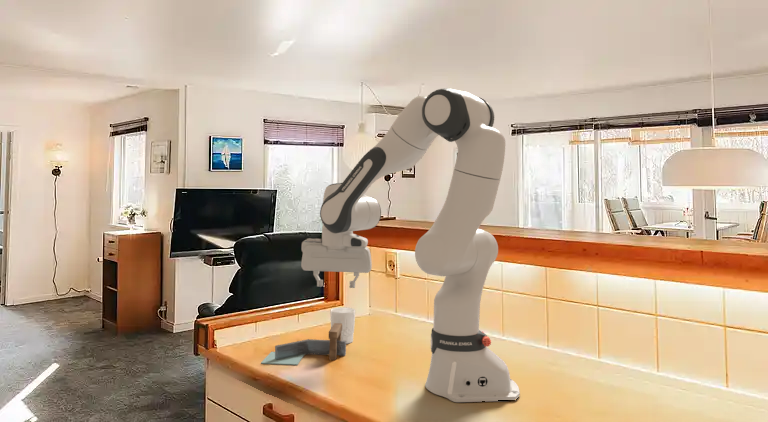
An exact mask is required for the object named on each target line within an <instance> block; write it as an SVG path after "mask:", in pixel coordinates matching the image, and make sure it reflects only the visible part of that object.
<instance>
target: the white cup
mask: <svg viewBox="0 0 768 422" xmlns="http://www.w3.org/2000/svg"><path fill="white" fill-rule="evenodd" d="M355 319H356V309H355V308H352V307H345V306H344V307H341V306H339V307H334V308H331V309H330V328H331V327H332V326H333V324H334V323H342V331H341V341H346V345H347V344H352V343H353V342H354V333H355V322H356V321H355Z"/></svg>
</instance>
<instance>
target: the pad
mask: <svg viewBox="0 0 768 422" xmlns="http://www.w3.org/2000/svg"><path fill="white" fill-rule="evenodd" d="M304 356H306V355H305V354H302V355H298V356H293V357H288V358H284V359H279V360H276V359H275V351H271V352H269V354H268V355H267V356H266V357H265V358H264V359H263V360H262V361H261V362H260V365H262V364H263V365H277V366H278V365H282V366H284V365H285V366H298V365H299V363H301V361H302V360H303V358H304Z"/></svg>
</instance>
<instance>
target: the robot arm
mask: <svg viewBox="0 0 768 422" xmlns="http://www.w3.org/2000/svg"><path fill="white" fill-rule="evenodd" d="M494 124H495V112H494V110H493V107H492V106H491V105H490V104H489V102H487V101H486V100H485V99H484V98H481V97H480V96H476V95H474V94H472V93H470V92H468V91H464V90H458V89H454V88H450V87H449V88H448V87H447V88H439V89H436V90H434V91H432V92H430V93H429V94H428V95H427V96H425V95H420V96H416V97H414V98H413V99H412V100H411V101H409V102H408V104H407V105H406V106H405V107H404V108H403V109H402V111H401V112H400V113H399V114H398V116H397V117H396V119H395V120H394V122H393V123H392V125H391V126H390V128H389V129H388V130H387V132H386V133H385V134H384V136H383V137H382V138H381V139H380V141H378V142H377V143H376V144H375V145H374V146H373V147H372V148H370V149H369V150H368V151H367V152H366V153H365V154H364V155H363V156H361V157H362V158H361V159H359V161H358V163H356V164H355V166H354V167H353V169H352V170H351V171H350V172H349V174H348V175H347V176H346V178H345V179H343V182H337V183H332V184H328V185H327V186H326V187H325V189H324V193H323V198H322V203H321V207H320V211H319V216H320V220H321V222H322V227H321V228H322V229H321V238H311V237H309V238H306V239H305V240H303V241H302V242H301V252H302V257H301V264H300V265H301V266H300V267H301V269H302V270H303V271H307V272H308V271H310V272H311V271H312V273H313V274H312V275H313V277H314V278H315V281H316V287H320V288H321V287H323V286H324V279H321V278H320V276H319V274H320V272H335V273H336V272H338V273H353V276H354V278H353V280H350V281H349V289H351V288H352V289H355V288H356V282H357V279H358V278H359V276H360V273H364V274H369V273H370V272H371V271H372V268H373V266H372V265H373V263H372V254H371V249H370V248H369V247H368V243H369V240H368V238H366V237H365V236H364V237H363V236H361V235H358V234H356V233H354V232H355V231H356V232H357V231H366V230H371V229H374V228H375V227H377V225H378V224H379V222H380V221H381V218H382V217H381V216H382V210H381V209H382V208H381V205H380V202H379V201H378V200H377V199H376V198H375V197H372V196H369V195H366V192H367V191H368V190H369V189H370V188H371V186H372V185H373V184H374V183H375V182H377V181H378V180H379V179H381V178H383V177H385V176H388V175H391V174H394V173H397V172H402V171H406V170H409V169H411V168H413V167H414V166H415V165H416V164H418V163H419V161H421V159H422V158H423V157H424V155H425V154H426V153H427V151H428V149H429V148H430V146H431V145H432V143H433V142H434V140H435V139H436V138H437V137H438V136H440V137H441V138H442V139H445V141H446V142H448V143H450V142H451V143H453V142H455V144H456V146H457V147H456V148H457V156H456V160H455V164H454V167H453V172H452V175H451V181H450V184H449V187H448V192H447V195H446V198H445V201H444V204H443V206H442V208H441V210H440V211H439V214H438V215H437V218H435V221H434V222H433V223H432V226H431V227H430V228H429V230H427V232H425V233H424V234H423V235H422V236H421V237H419V239H418V240H417V243H416V245H415V249H414V257H415V261H416V264H417V266H418V268H419V269H420V270H421V271H422V272H424V273H425V274H427V275H432V276H437V277H444V281H443V283H442V285H441V287H440V288H439V290H438V291H437V292H436V293H435V296H434V299H433V325H432V326H433V327H432V329H431V333H430V352H431V358H430V365H429V369H428V373H427V378H426V381H425V384H424V386H425V388H426V390H428V391H429V392H431V393H432V394H434V395H437V396H440V397H442V398H443V397H444V398H446V399H447V400H449V401H451V402H453V403H473V402H474V403H476V402H477V403H481V402H482V401H485V402H499V401H498V400H515V399H517V398H518V397H519V398H520V396H519V395H521V394H520V388H519V385H518V384H517V383H516V381H514V380H513V379H512V378H511V375H510V370H509V368H508V365H507V364H506V362H505V361H504V359H502V358H501V357H500V356H499V355H497V354H496V353H495V352H494V351H492V350H491V349H490V348H489V347H490V345H492V340H491V338H490V337H489V336H488V335H487V334H486V333H485V331H482V330H480V313H481V302H482V301H481V300H482V294H483V290H484V286H485V282H486V280H487V277H488V273H489V271H490V268H491V266H492V265H493V264H494V262H495V261H496V259H497V258H498V255H499V245H498V242H497V240H496V238H495V237H494V235H493V234H492V233H491V232H489V231H487V230H484V229H481V228H480V226H481V225H482V223H483V222H484V220H485V219H486V218H487V217H488V216H489V215H490V214H491V212H492V211H493V209H494V205H495V202H496V199H497V194H498V190H499V185H500V182H501V177H502V173H503V169H504V162H505V155H506V139H505V136H504V135H503V133H502V132H501V131H499V130H498V129H496V128H494V127H493V126H494ZM519 398H518V399H519ZM518 399H517V400H518ZM515 401H516V400H515Z"/></svg>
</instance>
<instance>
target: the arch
mask: <svg viewBox="0 0 768 422" xmlns="http://www.w3.org/2000/svg"><path fill="white" fill-rule="evenodd" d="M341 331H342V323H334V324H333V326H332V327H331V326H330V329H329V330H328V340H330V349H329V355H328V356H329V358H328V359H329V361H336V360H337V355H336V354H337V340H338V341H341Z"/></svg>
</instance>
